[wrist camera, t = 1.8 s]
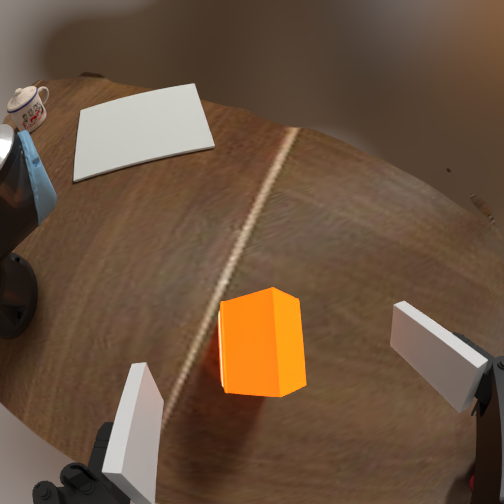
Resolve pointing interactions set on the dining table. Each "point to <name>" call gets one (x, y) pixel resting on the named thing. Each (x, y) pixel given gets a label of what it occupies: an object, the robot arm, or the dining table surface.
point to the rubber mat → (140, 130)
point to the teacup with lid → (28, 108)
